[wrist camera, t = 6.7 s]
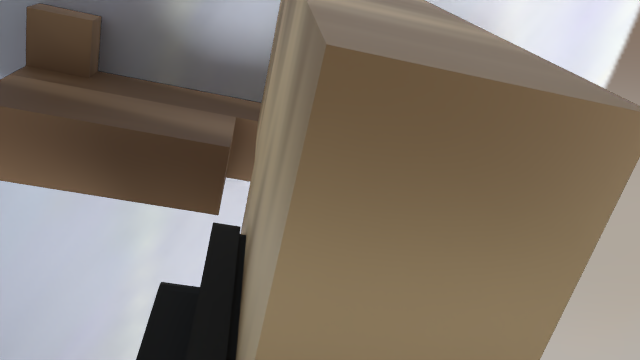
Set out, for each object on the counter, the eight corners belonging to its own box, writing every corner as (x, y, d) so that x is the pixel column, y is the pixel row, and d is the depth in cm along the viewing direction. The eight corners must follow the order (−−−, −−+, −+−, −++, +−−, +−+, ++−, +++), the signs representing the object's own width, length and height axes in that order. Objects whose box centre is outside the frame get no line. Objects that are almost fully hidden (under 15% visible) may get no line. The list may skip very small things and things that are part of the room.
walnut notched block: (481, 240, 23) (531, 314, 19) (35, 167, 21) (-33, 233, 16) (533, 106, 21) (604, 155, 17) (38, 3, 18) (-39, 26, 14)
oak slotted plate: (293, 365, 18) (315, 813, 9) (214, 356, 18) (151, 817, 8) (394, -14, 13) (659, 115, 4) (288, -40, 13) (327, 44, 4)
